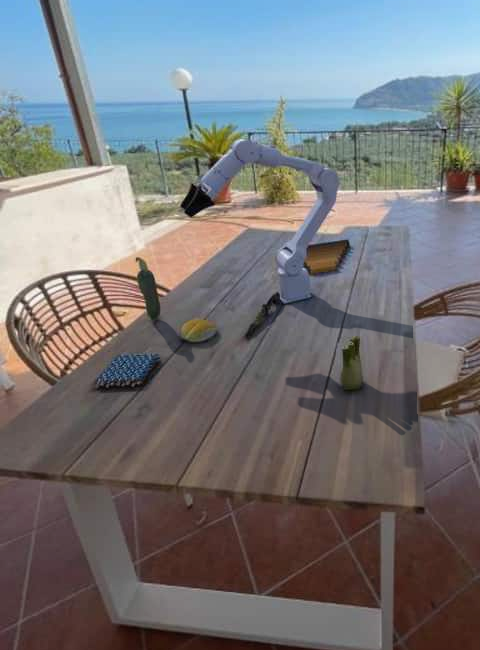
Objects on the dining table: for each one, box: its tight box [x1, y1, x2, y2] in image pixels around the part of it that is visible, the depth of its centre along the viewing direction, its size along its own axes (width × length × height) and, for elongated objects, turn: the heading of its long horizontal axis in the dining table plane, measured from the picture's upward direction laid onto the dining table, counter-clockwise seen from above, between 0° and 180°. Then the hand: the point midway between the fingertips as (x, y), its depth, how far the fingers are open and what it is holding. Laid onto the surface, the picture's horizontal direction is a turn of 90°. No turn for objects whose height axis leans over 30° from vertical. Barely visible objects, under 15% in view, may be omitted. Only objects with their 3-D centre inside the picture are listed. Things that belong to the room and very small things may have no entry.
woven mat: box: [93, 352, 161, 389], centre depth 91 cm, size 10×11×2 cm
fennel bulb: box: [339, 335, 364, 391], centre depth 85 cm, size 6×5×12 cm
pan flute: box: [303, 238, 351, 275], centre depth 158 cm, size 25×3×25 cm
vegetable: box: [135, 256, 161, 322], centre depth 109 cm, size 4×4×20 cm
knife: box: [244, 291, 281, 339], centre depth 114 cm, size 23×2×5 cm, turn 169°
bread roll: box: [180, 318, 217, 343], centre depth 105 cm, size 8×9×4 cm
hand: (185, 211), depth 103 cm, fingers open, 7 cm apart
